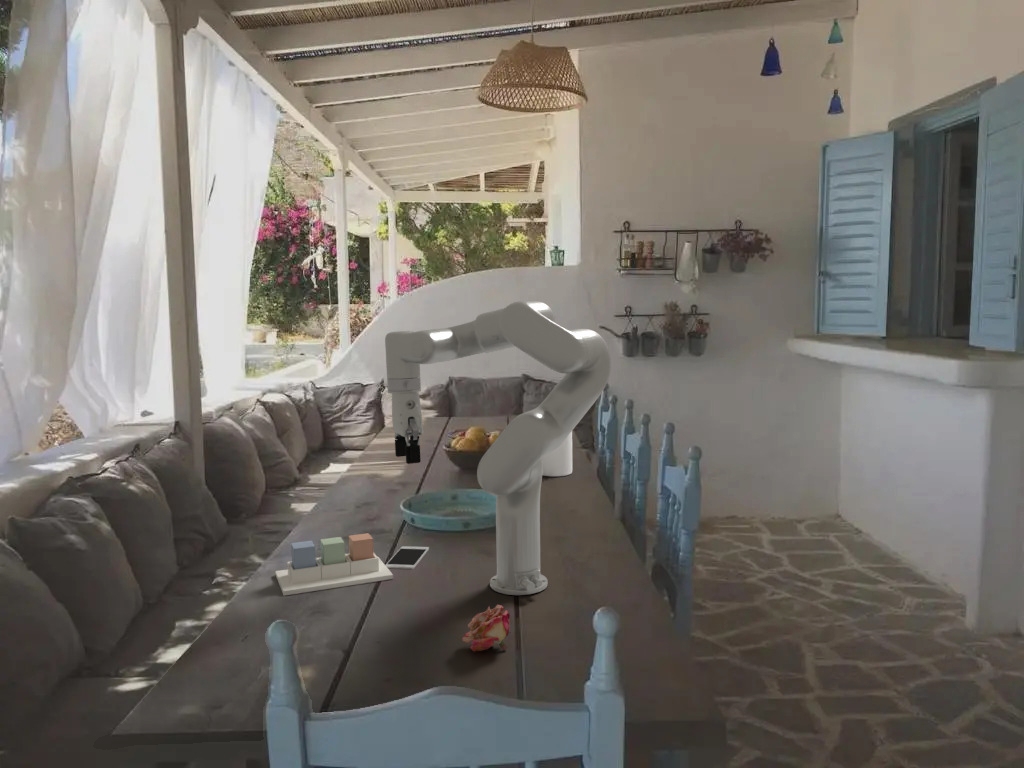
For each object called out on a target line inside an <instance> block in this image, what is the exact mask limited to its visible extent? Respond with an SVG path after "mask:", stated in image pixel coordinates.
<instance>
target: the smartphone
mask: <svg viewBox="0 0 1024 768" xmlns="http://www.w3.org/2000/svg"><path fill="white" fill-rule="evenodd" d="M429 550H430V547H429V546H406V545H405V546H403V545H402V546H401V547H399V548H398V550H397V551H396V552H395V553H394V554H393V556H392V557H391V558H390V559H389V560H388V561H387V563H386V564H385V566H386V567H387V568H388V569H395V570H396V569H397V570H399V569H400V570H402V569H403V570H413V569H415V568H416V566H417V565H418V564H419V563H420V562H421V560H422V559H423V558H424V557H425V555H426V554H427V552H428V551H429Z"/></svg>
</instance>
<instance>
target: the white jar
mask: <svg viewBox="0 0 1024 768" xmlns="http://www.w3.org/2000/svg"><path fill="white" fill-rule="evenodd" d="M541 459H542V464H543V473H542V476H544V477H551V478H552V477H554V478H555V477H565V476H569V475H571V474H572V473H573V430H572V431H571V432H570V434H569V435H568V436H567V438H566V439H565V440H564V442H563V443H562V444H561V445H560V446H559V447H558V448H557V449H555V450H554V451H552V452H550V453H548V454H545V455H544V456H543V457H542V458H541Z"/></svg>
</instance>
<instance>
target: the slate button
mask: <svg viewBox="0 0 1024 768" xmlns="http://www.w3.org/2000/svg"><path fill="white" fill-rule="evenodd" d="M290 547H291V548H290V549H291V550H290V551H291V561H292V566H293V568H294V569H301V568H308V567H315V566H316V558H317V556H316V554H317V553H316V545H315V544H314V542H313V540H306V541H298V542H297V541H296V542H291V543H290Z"/></svg>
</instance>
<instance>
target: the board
mask: <svg viewBox="0 0 1024 768" xmlns="http://www.w3.org/2000/svg"><path fill="white" fill-rule="evenodd" d="M373 554H374V558H372V559H365V560H358V561H352V560H351V558H350V556H349V553H345V562H343V563H336V564H329V565H323V563H322V561H321V556H320V557H316V566H315V567H308V568H301V569H294V568H293V566H292V560H291V561H287V562H286V563H287V569H281V570H276V571H275V572H274V573H275V577H276V580H277V582H278V585H279V588H280V590H281V592H282V595H283V596H289V595H297V594H304V593H311V592H315V591H316V592H317V591H324V590H330V589H337V588H344V587H349V586H357V585H363V584H370V583H375V582H382V581H388V580H394V574H393V573H392V572H391V570H390V568H387V567H386V566H385V565H386V564H385V563H384V562H383V561H382V559H381V557H379V556H377V555H376V553H375V552H374V551H373Z"/></svg>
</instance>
